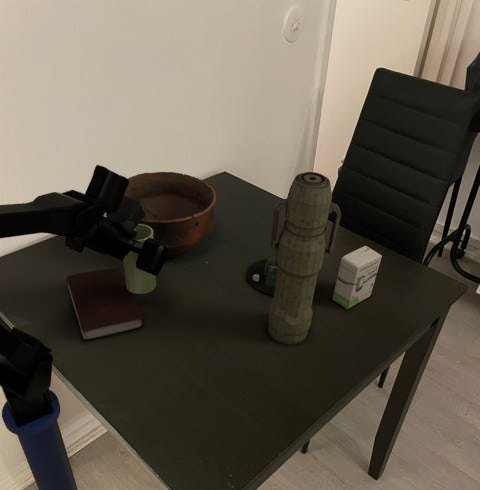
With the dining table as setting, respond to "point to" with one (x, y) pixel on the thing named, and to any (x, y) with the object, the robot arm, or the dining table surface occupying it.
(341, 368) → the dining table surface
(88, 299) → the book
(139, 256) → the robot arm
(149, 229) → the pencil cup
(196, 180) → the bowl
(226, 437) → the dining table surface
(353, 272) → the ink box
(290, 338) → the thermos
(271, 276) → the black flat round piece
